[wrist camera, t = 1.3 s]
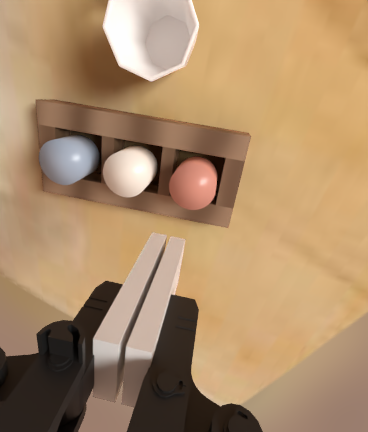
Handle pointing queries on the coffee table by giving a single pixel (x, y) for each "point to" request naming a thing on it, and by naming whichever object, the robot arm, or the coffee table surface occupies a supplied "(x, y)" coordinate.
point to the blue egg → (69, 159)
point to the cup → (151, 35)
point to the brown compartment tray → (149, 134)
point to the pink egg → (194, 183)
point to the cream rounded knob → (130, 170)
